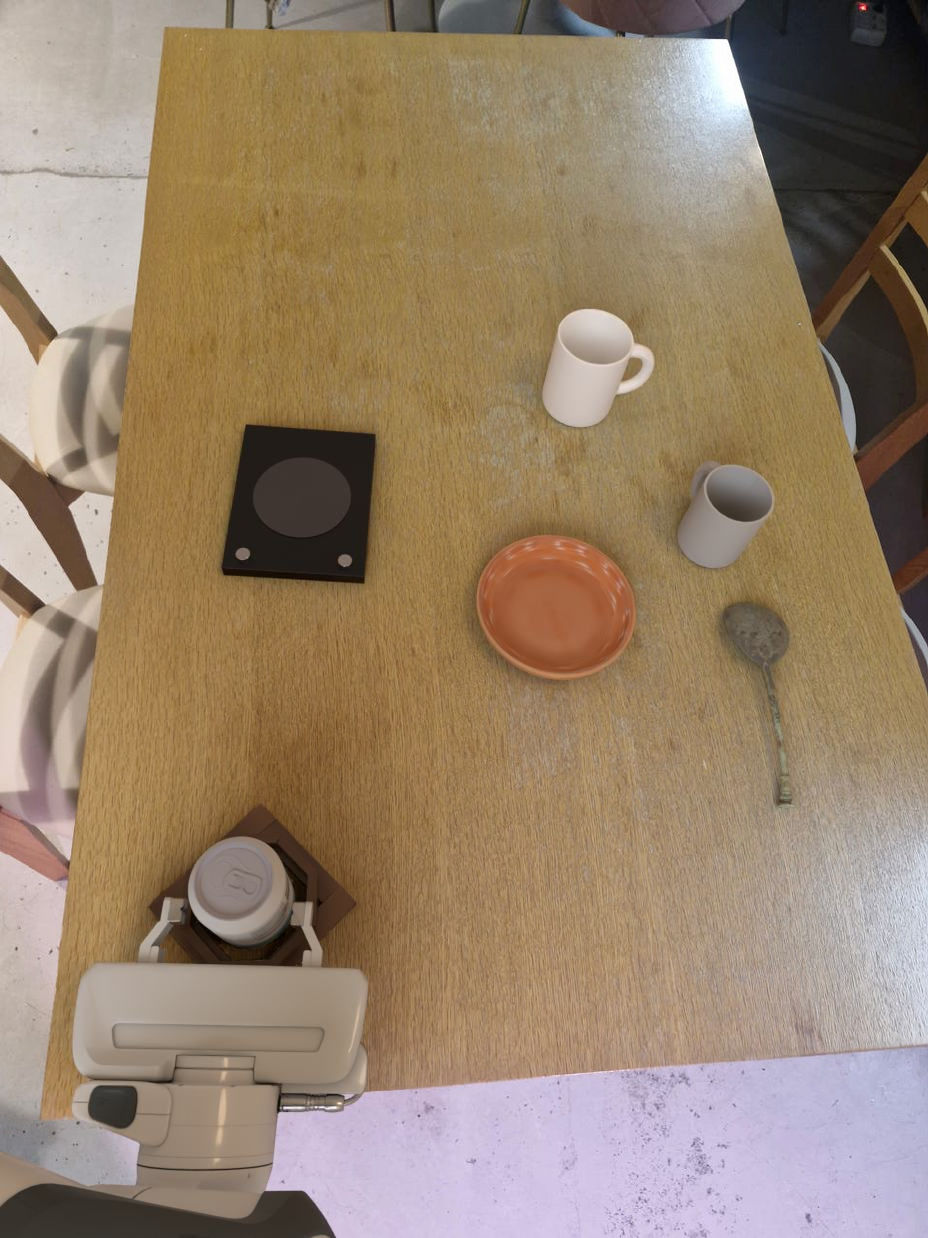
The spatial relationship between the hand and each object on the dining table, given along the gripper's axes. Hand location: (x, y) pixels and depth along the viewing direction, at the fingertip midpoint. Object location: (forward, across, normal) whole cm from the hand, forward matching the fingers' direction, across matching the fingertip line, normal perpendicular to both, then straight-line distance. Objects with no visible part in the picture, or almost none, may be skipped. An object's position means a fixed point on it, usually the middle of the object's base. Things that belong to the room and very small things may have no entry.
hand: (240, 900), depth 64 cm
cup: (+41, -43, +7) cm, 60 cm away
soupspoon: (+22, -47, +7) cm, 52 cm away
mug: (+58, -32, +7) cm, 67 cm away
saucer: (+30, -26, +7) cm, 40 cm away
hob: (+41, 0, +7) cm, 42 cm away
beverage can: (+1, 0, +7) cm, 7 cm away
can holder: (+1, 0, +7) cm, 7 cm away
